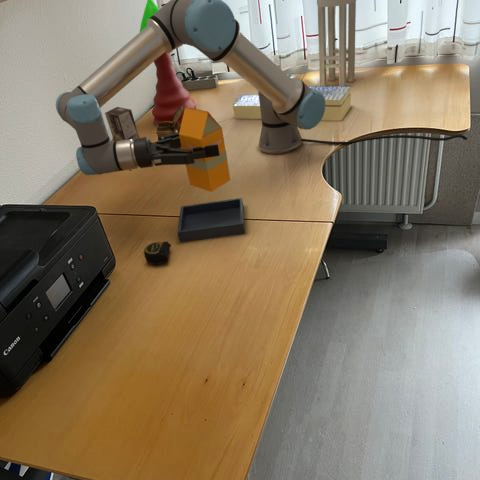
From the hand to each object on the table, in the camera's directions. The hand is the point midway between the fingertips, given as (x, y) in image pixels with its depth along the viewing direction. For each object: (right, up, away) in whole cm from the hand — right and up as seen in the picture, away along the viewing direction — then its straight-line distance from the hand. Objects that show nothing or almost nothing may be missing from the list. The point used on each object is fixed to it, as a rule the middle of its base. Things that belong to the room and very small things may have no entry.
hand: (218, 141), depth 126 cm
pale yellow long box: (+27, +37, +69) cm, 83 cm away
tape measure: (-16, -30, +5) cm, 34 cm away
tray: (-2, -19, +14) cm, 24 cm away
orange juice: (-3, -9, +8) cm, 12 cm away
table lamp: (-22, +41, +83) cm, 96 cm away
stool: (+49, +58, +87) cm, 115 cm away
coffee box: (-37, +19, +63) cm, 75 cm away
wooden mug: (-18, +16, +55) cm, 60 cm away
